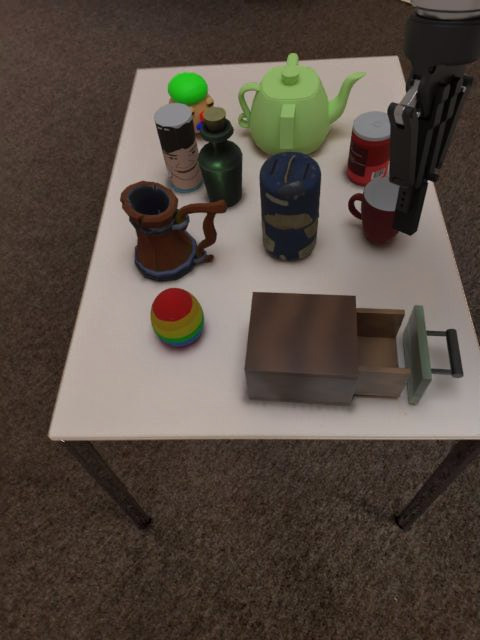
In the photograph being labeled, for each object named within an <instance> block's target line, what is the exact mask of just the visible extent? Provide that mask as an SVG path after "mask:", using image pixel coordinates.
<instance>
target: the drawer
mask: <svg viewBox="0 0 480 640" xmlns="http://www.w3.org/2000/svg"><path fill="white" fill-rule="evenodd" d="M356 312H357V341H358V370H359V377H358V380H357V383H356V387H355V390H354V393H353V395H363V396H376V397H377V396H381V397H393V398H394V397H396V398H400V397H401V395H402V393H403V392H404V389H405V387H406V385H407V393H408V403H409V404H416V405H417V404H419V402H420V401H421V400H422V398H423V396H424V394H425V393H426V391H427V389H428V387H429V386H430V384H431V382H432V380H433V375H440V376H441V375H443V376H451V378H454V379H461V378H463V377H464V375H465V374H464V368H463V361H462V355H461V349H460V344H459V338H458V332H457V329H456V328H448V329H446V330H430V329H429V330H428V329H427V325H426V318H425V309H424V305H421V304H420V305H419V304H414V306H413V307H412V309H411V313H410V315H409V318H408V320H407V323H406V325H405V328H404V330H403V333H402V340H403V351H404V360H405V367H399V358H398V347H397V336H398V334H399V331H400V329H401V327H402V323H403V321H404V318H405V316H406V309H396V308H394V309H393V308H372V307H371V308H370V307H356ZM428 337H442V338H443V337H444V338H445V342H446V349H447V354H448V362H449V368H432V366H431V365H432V364H431V357H430V351H429V342H428Z"/></svg>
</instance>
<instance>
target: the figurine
mask: <svg viewBox="0 0 480 640" xmlns="http://www.w3.org/2000/svg"><path fill="white" fill-rule="evenodd" d="M167 94H168V95H169V97H170V98H169V100H168V104H171V103H180V104H184V105H187V106H188V107H189V108H190V109H191V112H192V117H193V123H194V129H195V134H200V129H201V125H202V123H203V122H204V121H205V119H204V117H203V113H204V111H205V110H207V109H209V108H212V107H215V101H214V99H213V97H211V94H209V86H208V83H207V81H206V80H205V78H204V77H203V76H201V75H200V74H198V73H197V72H189V71H183V72H180V73H177V74H176V75H174V76H173V77H172V78H171V79H170V80H169V81H168V84H167Z"/></svg>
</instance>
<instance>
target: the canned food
mask: <svg viewBox="0 0 480 640" xmlns="http://www.w3.org/2000/svg"><path fill="white" fill-rule="evenodd" d="M389 163H390V122H389V118H388V114H387V112H384V111H377V110H376V111H375V110H373V111H366V112H364V113H361V114H359V115H358V116H356V118H354V120H353V123H352V129H351V134H350V143H349V151H348V157H347V166H346V172H347V176H348V178H349V180H350V181H351V182H352V183H354V184H356V185H359V186H364V187H365V186H366V185H367V184H368V183H369V182H370V181H372V180H374V179H377V178H381V177H386V175H387V173H388V170H389Z"/></svg>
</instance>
